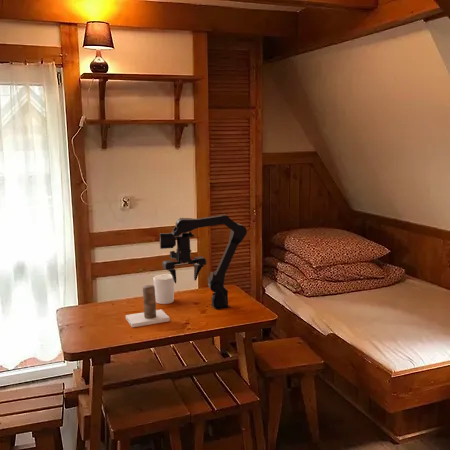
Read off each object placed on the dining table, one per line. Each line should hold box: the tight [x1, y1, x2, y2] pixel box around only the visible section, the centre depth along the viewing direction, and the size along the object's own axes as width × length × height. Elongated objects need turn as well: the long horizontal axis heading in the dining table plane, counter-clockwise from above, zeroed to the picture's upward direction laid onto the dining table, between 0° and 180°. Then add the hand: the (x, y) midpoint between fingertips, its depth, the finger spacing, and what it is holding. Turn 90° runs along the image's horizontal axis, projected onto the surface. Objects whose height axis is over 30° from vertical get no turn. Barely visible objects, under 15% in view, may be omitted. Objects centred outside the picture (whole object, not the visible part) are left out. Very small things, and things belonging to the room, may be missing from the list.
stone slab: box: [125, 309, 171, 328], centre depth 227 cm, size 16×12×2 cm
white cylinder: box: [152, 273, 175, 305], centre depth 250 cm, size 10×10×12 cm
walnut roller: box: [142, 284, 157, 319], centre depth 225 cm, size 5×5×13 cm
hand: (185, 281), depth 235 cm, fingers open, 9 cm apart
